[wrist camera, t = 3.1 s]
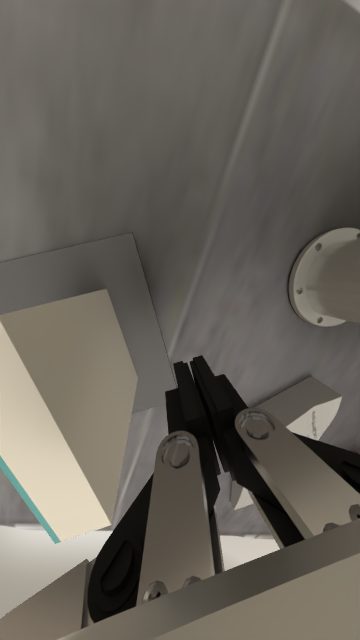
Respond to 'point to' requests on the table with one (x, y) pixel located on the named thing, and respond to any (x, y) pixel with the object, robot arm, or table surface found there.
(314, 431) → the ramp
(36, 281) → the mat
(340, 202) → the table surface
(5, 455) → the tile
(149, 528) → the robot arm
